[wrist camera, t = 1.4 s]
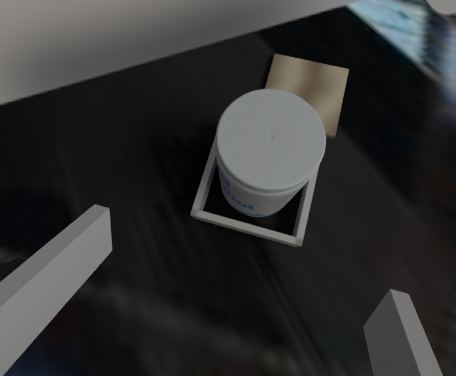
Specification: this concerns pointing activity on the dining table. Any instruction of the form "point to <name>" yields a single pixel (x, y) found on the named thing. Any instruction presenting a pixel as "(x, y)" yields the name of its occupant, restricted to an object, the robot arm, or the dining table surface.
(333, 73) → the birch board
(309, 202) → the grey square frame
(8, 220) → the dining table surface
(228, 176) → the supplement tub
